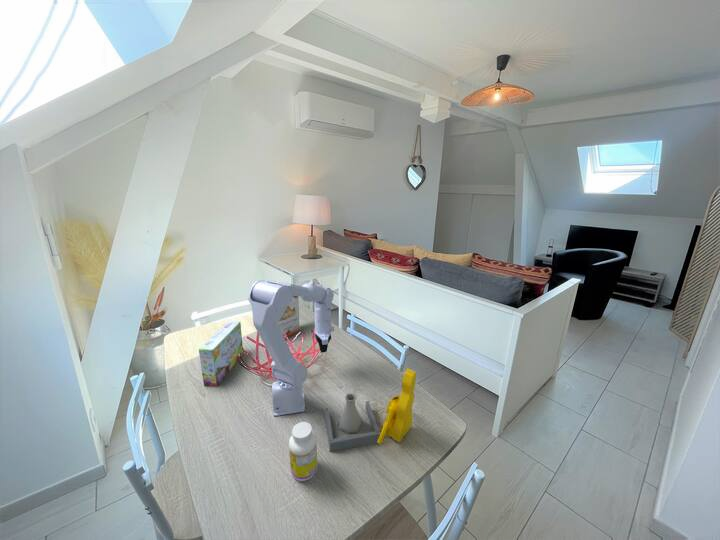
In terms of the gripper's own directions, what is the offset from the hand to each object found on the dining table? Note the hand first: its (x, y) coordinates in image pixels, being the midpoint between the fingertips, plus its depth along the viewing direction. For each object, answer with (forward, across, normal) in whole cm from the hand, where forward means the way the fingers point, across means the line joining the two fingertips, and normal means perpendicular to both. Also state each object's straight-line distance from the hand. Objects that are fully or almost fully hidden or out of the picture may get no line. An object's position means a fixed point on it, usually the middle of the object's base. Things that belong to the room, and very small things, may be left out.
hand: (323, 351), depth 105 cm
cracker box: (+10, +32, +15) cm, 37 cm away
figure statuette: (+10, -32, -18) cm, 38 cm away
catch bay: (+9, -27, -5) cm, 29 cm away
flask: (+10, -26, -5) cm, 28 cm away
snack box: (+10, +11, +37) cm, 40 cm away
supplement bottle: (+10, -37, +9) cm, 39 cm away
